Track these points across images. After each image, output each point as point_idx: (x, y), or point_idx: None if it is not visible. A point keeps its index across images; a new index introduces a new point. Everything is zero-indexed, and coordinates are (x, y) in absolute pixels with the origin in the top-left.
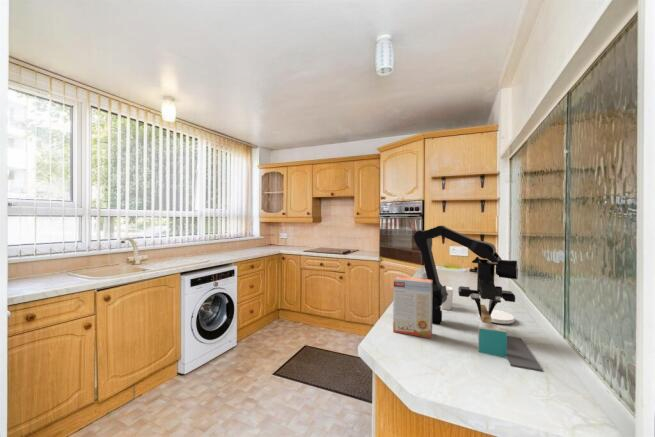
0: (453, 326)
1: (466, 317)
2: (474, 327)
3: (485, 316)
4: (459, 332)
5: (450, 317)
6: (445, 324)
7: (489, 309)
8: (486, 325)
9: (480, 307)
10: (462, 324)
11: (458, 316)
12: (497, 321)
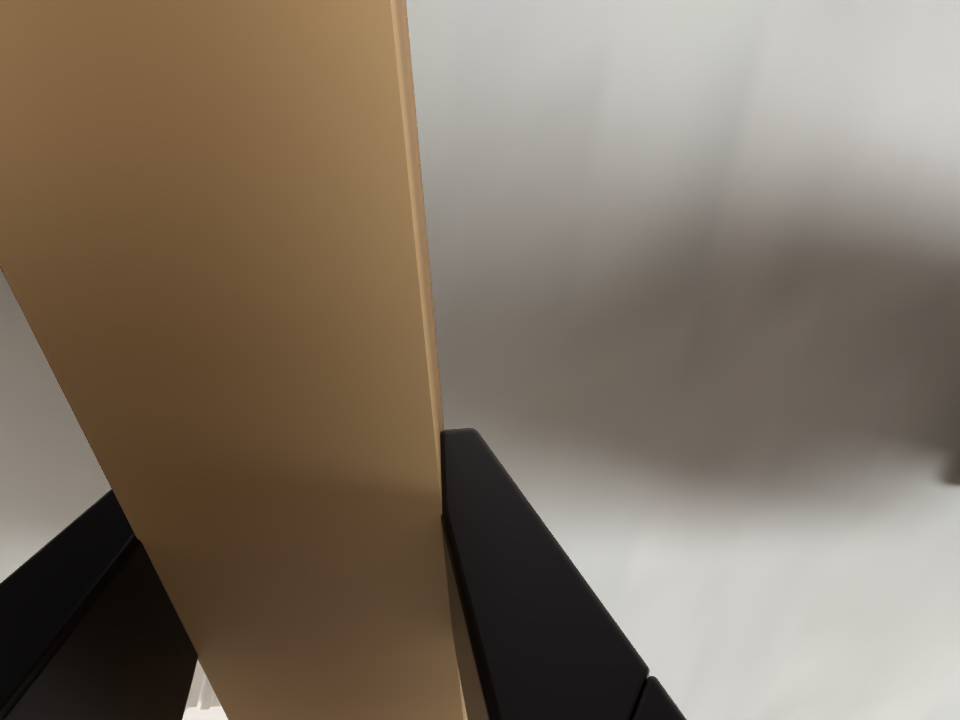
0: (848, 329)
1: None
2: (511, 431)
3: None
4: (836, 72)
5: (776, 609)
6: (956, 356)
7: (65, 718)
8: None
9: (513, 703)
10: (673, 464)
11: (663, 667)
12: (196, 677)
